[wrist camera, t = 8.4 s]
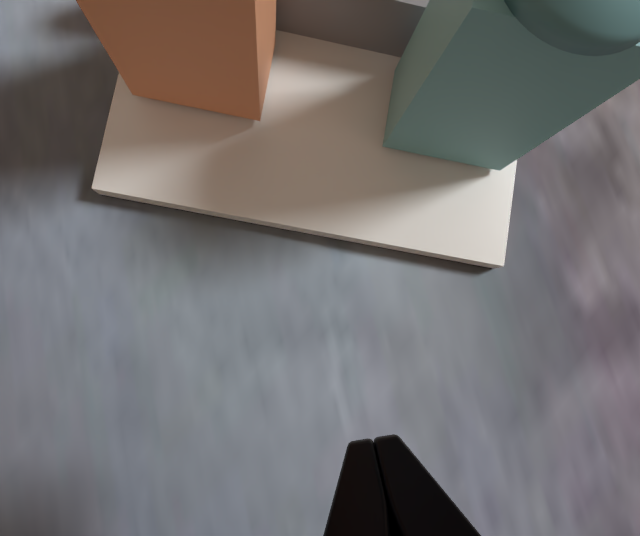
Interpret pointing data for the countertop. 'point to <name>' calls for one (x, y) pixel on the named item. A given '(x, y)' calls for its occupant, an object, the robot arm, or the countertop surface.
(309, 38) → the button console
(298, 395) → the countertop surface
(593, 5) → the button teal
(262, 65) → the orange domed block
